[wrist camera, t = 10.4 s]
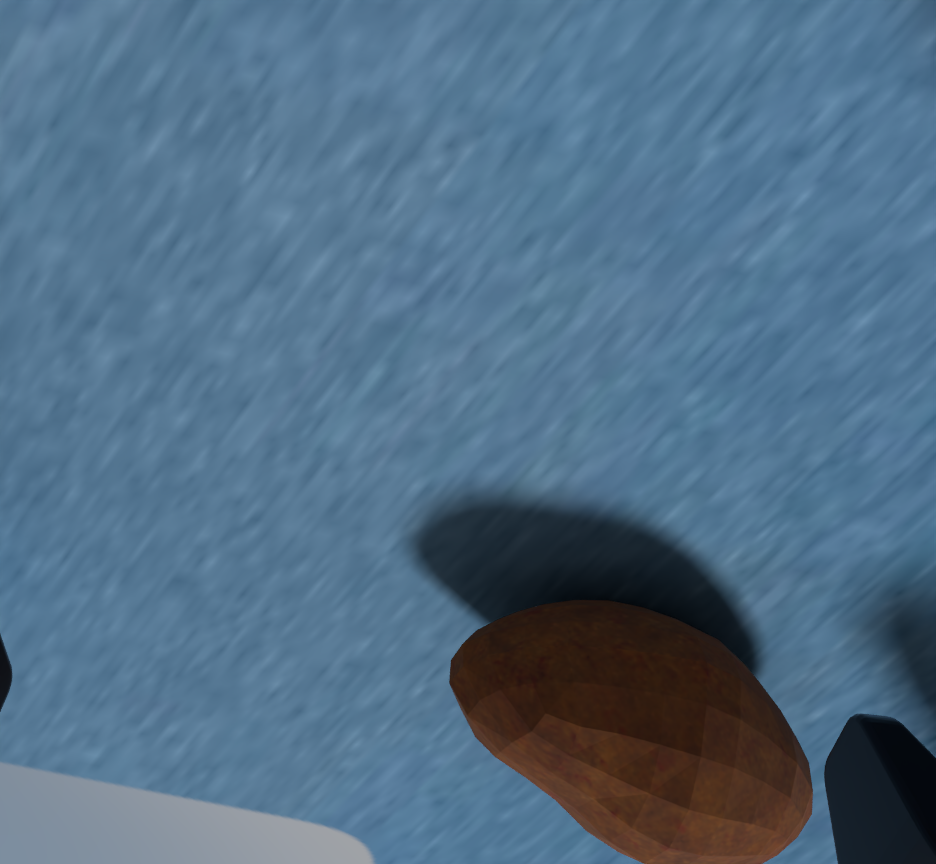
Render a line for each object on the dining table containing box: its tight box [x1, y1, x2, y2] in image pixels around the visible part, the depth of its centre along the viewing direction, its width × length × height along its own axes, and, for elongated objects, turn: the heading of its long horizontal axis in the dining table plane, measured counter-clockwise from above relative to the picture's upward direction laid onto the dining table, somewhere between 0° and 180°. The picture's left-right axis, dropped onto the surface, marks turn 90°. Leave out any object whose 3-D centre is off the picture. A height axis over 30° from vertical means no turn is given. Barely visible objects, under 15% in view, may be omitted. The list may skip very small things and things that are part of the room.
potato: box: [449, 600, 813, 864], centre depth 22 cm, size 6×12×6 cm, turn 66°
